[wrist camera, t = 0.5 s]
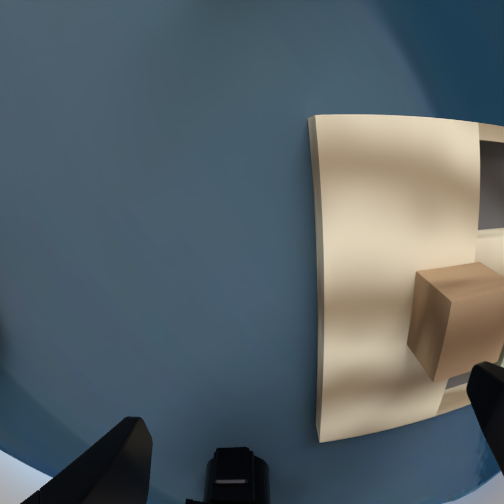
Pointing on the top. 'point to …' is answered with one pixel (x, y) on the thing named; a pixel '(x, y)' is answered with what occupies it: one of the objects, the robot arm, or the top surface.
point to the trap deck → (394, 255)
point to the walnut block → (456, 319)
